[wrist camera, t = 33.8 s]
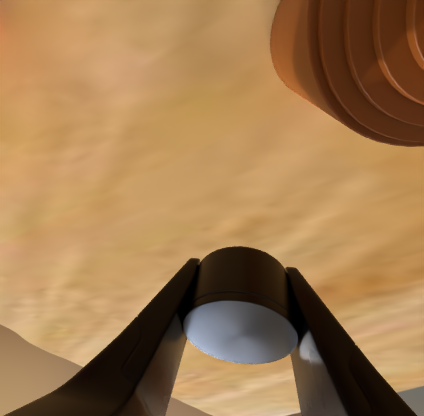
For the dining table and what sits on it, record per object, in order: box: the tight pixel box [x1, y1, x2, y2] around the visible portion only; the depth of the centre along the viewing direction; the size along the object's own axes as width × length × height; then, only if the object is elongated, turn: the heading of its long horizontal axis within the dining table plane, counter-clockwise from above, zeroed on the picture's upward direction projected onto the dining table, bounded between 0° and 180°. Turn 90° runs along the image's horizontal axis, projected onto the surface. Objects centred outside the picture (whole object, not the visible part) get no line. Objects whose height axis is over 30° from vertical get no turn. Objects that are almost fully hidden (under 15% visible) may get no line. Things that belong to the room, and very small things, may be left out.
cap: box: [183, 246, 298, 364], centre depth 9 cm, size 4×4×2 cm
